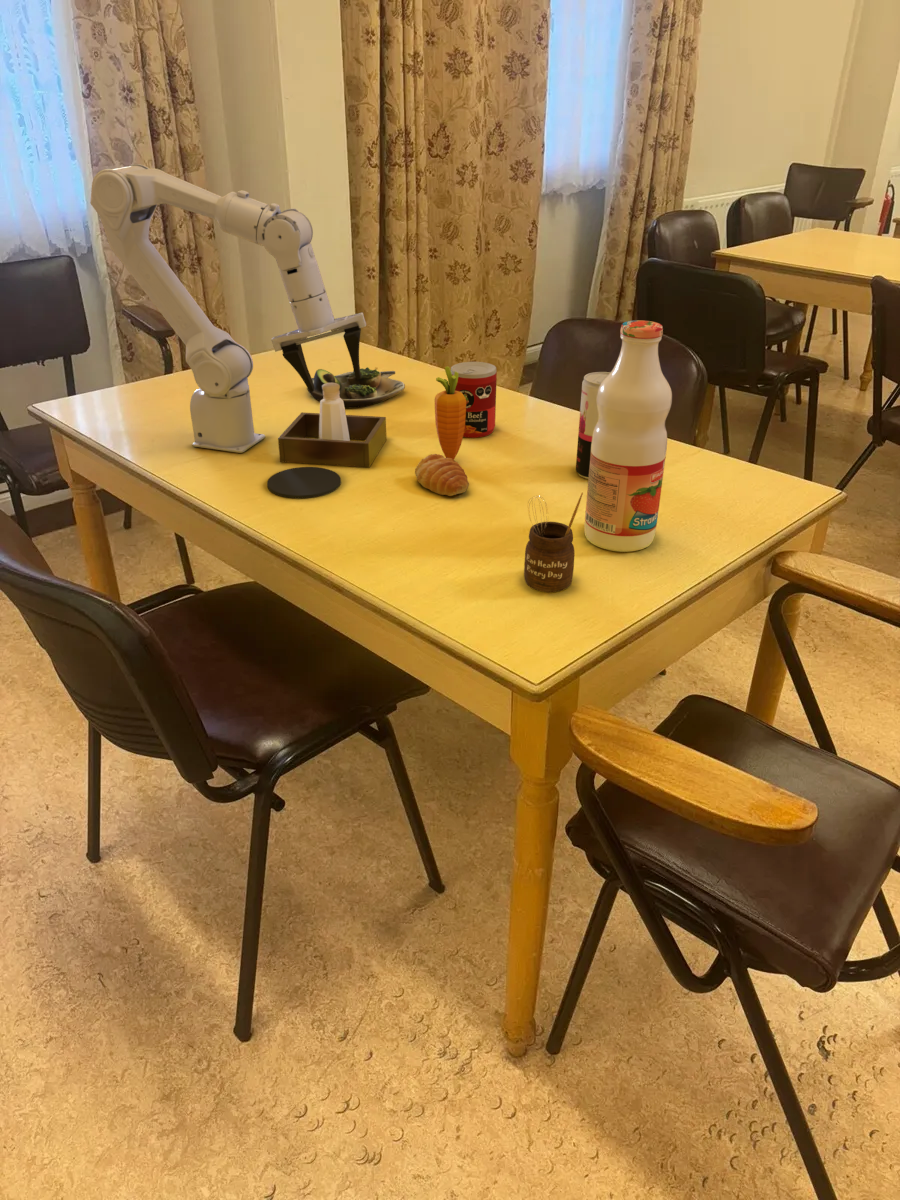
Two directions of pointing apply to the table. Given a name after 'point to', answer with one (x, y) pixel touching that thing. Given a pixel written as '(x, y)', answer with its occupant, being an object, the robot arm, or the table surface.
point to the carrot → (450, 415)
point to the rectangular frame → (333, 442)
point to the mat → (304, 482)
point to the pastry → (441, 475)
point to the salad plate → (359, 386)
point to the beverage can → (588, 420)
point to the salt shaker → (332, 414)
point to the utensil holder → (549, 554)
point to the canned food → (477, 396)
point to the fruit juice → (629, 444)
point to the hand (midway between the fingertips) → (335, 384)
